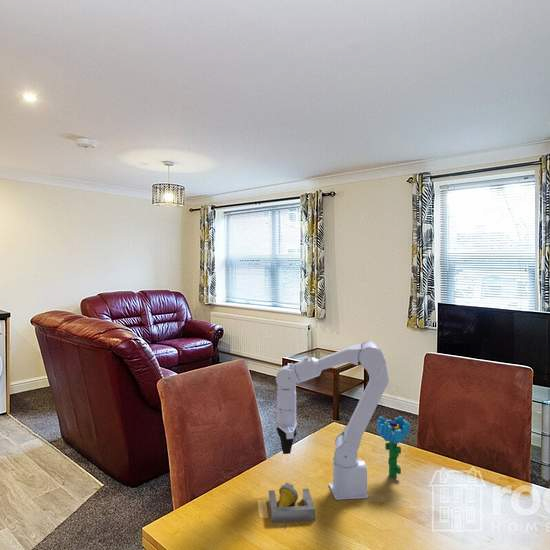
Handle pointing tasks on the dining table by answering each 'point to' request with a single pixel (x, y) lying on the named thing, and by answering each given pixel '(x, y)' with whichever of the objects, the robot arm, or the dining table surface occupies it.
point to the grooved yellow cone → (287, 495)
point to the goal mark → (262, 509)
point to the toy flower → (393, 440)
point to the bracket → (292, 509)
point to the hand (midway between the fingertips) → (286, 452)
